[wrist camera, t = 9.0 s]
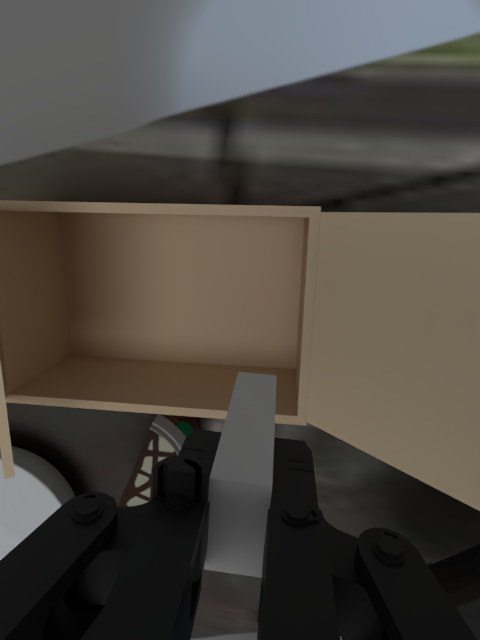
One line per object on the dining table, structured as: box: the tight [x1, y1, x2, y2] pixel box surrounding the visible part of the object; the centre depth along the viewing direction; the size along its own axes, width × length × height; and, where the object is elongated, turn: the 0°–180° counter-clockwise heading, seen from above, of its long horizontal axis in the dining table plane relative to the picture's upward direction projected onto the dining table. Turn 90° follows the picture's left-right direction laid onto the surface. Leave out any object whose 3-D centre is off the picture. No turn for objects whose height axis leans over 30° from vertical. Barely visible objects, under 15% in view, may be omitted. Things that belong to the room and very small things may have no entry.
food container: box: [117, 414, 200, 508], centre depth 45 cm, size 12×6×10 cm, turn 156°
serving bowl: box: [0, 446, 75, 560], centre depth 52 cm, size 21×21×7 cm
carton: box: [0, 201, 321, 425], centre depth 40 cm, size 18×28×12 cm, turn 89°
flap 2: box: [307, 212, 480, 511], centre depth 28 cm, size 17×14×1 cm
